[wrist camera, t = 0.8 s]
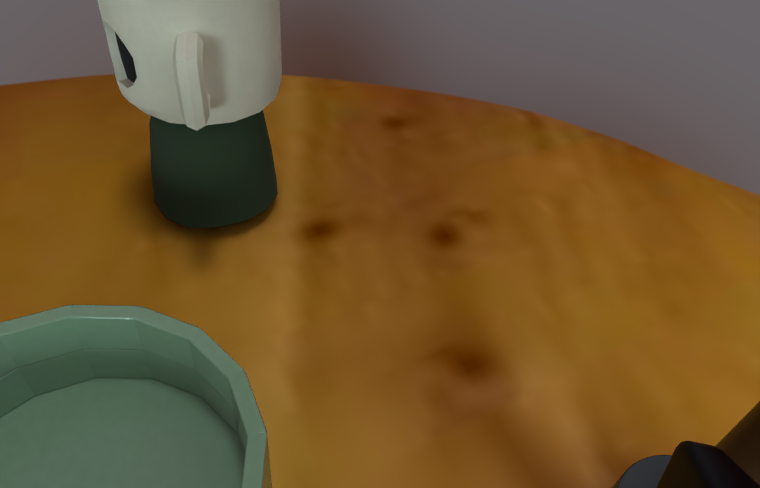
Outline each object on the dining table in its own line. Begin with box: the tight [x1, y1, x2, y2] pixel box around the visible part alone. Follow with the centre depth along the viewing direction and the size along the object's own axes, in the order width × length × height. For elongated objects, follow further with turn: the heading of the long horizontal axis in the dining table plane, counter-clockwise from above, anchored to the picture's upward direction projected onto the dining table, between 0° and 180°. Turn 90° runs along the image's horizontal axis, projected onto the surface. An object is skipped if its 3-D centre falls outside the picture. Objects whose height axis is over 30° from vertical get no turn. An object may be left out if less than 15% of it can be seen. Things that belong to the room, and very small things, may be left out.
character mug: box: [97, 0, 282, 228], centre depth 29 cm, size 11×7×13 cm, turn 10°
